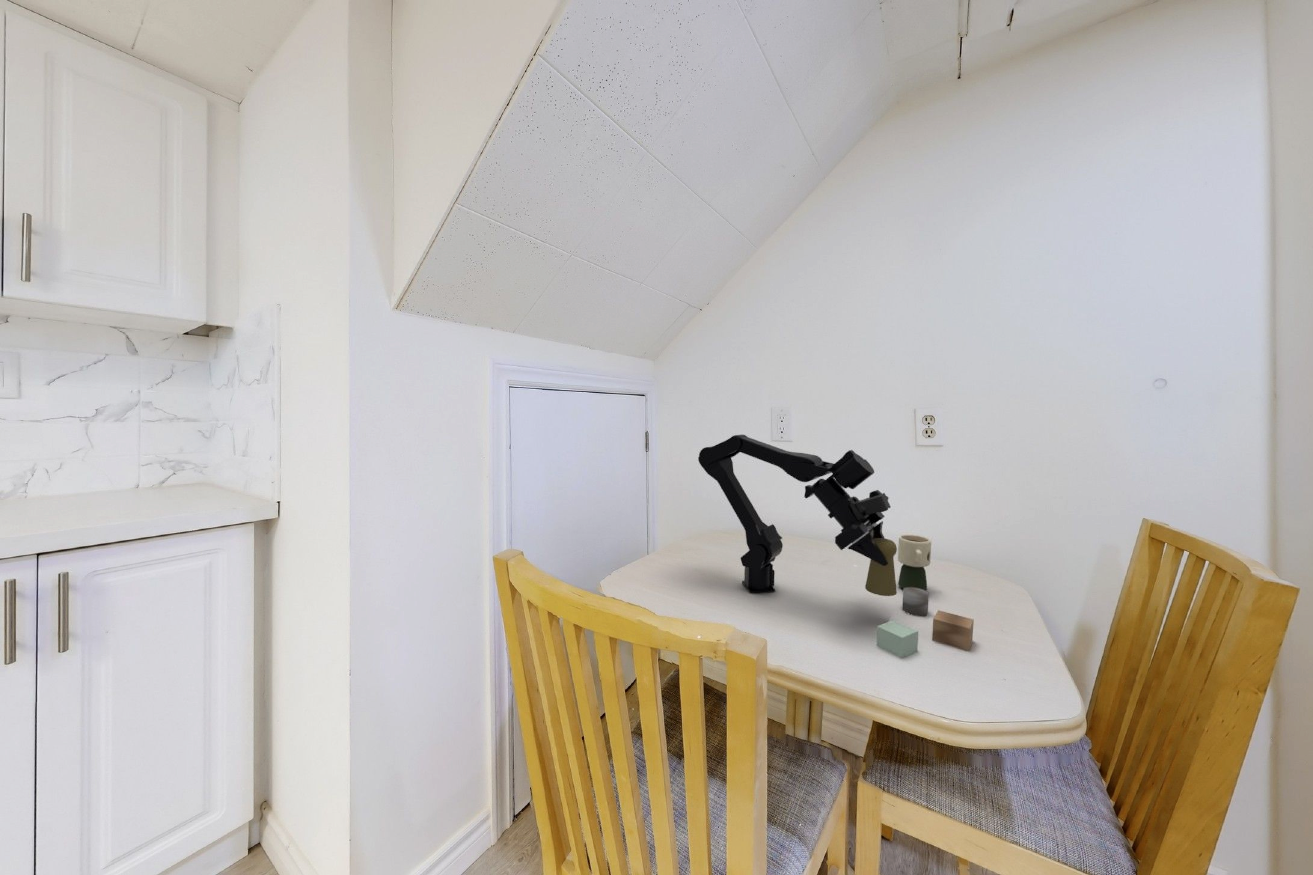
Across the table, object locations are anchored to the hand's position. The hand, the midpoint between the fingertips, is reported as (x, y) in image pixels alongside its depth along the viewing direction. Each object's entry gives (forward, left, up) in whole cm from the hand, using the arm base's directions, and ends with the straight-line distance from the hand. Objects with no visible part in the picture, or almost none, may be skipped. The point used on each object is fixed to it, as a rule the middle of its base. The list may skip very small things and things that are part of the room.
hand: (889, 561), depth 97 cm
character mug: (+18, +15, -13) cm, 27 cm away
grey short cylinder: (+10, +4, -13) cm, 17 cm away
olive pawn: (-1, +1, -7) cm, 7 cm away
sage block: (-5, -10, -13) cm, 17 cm away
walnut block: (+8, -8, -13) cm, 18 cm away
